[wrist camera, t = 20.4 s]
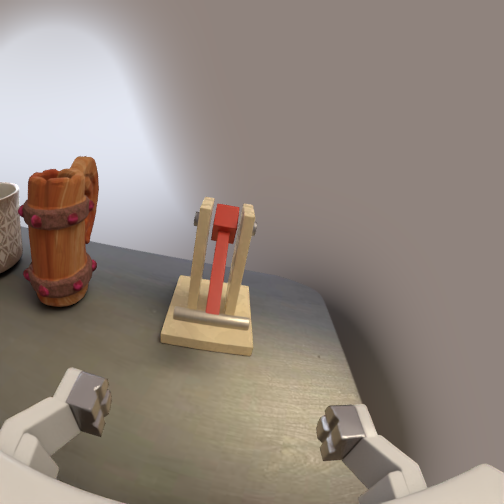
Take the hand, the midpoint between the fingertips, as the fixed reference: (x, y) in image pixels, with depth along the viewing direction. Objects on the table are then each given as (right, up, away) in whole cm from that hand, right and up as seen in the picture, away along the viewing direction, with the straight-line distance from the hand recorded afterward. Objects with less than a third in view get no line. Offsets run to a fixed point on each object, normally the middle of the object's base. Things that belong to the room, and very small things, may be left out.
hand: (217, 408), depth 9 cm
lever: (-2, +4, +18) cm, 18 cm away
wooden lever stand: (-4, -2, +23) cm, 24 cm away
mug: (-21, +1, +22) cm, 31 cm away
